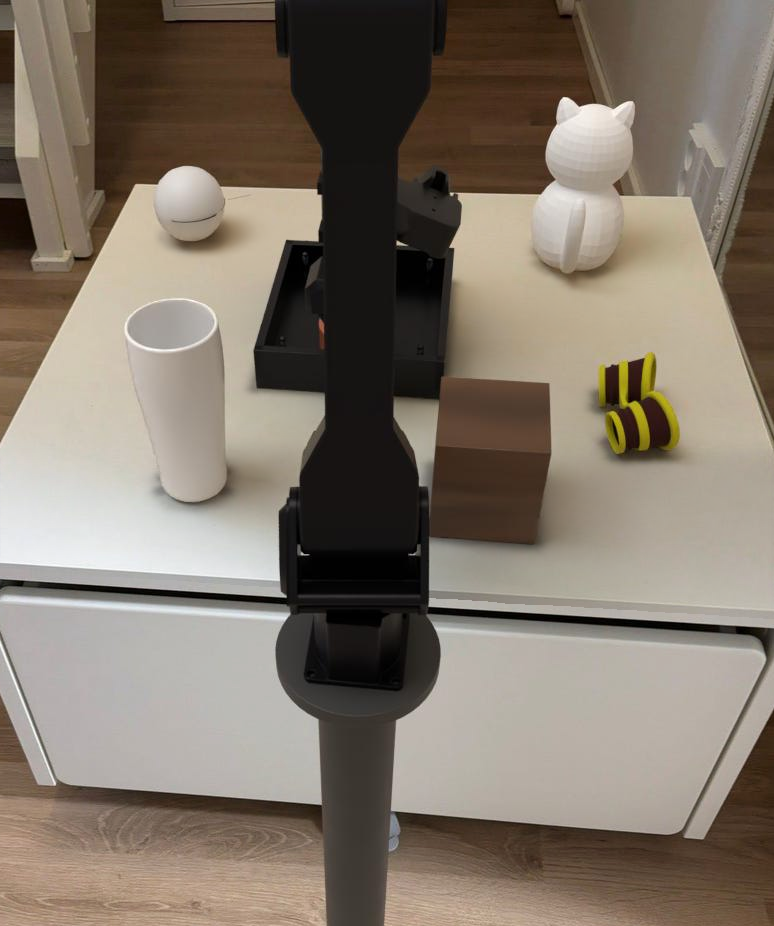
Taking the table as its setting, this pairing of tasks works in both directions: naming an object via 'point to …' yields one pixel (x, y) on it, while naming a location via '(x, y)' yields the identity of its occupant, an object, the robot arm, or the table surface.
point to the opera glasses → (636, 407)
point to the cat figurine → (583, 186)
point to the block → (490, 459)
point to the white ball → (189, 203)
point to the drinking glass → (181, 393)
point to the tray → (297, 330)
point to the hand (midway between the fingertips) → (355, 326)
